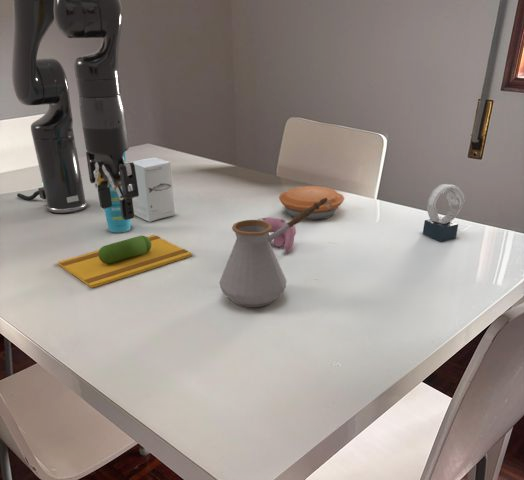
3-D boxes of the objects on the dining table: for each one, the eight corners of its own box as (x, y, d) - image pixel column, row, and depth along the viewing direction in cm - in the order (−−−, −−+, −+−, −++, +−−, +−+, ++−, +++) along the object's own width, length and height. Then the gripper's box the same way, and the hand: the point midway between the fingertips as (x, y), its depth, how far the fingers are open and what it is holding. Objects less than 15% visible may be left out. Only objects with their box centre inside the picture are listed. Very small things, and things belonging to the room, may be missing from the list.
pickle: (95, 260, 110) (94, 244, 107) (145, 246, 116) (145, 230, 114) (104, 269, 108) (103, 253, 106) (154, 254, 114) (154, 238, 112)
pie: (321, 227, 127) (322, 205, 124) (266, 214, 135) (266, 194, 132) (355, 209, 137) (356, 189, 135) (302, 198, 145) (302, 179, 143)
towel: (57, 264, 111) (57, 261, 110) (153, 237, 123) (153, 234, 123) (92, 288, 102) (91, 284, 101) (191, 256, 114) (191, 252, 113)
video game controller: (294, 255, 117) (299, 221, 117) (289, 253, 113) (294, 217, 112) (250, 249, 120) (254, 216, 119) (243, 247, 116) (247, 213, 115)
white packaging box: (149, 222, 131) (143, 167, 124) (133, 215, 136) (126, 161, 129) (176, 215, 135) (171, 161, 128) (159, 208, 140) (153, 156, 133)
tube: (108, 235, 124) (93, 145, 114) (100, 229, 127) (85, 141, 117) (139, 229, 127) (128, 140, 117) (131, 223, 131) (119, 136, 121)
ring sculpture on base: (462, 236, 121) (472, 185, 116) (434, 243, 118) (442, 191, 112) (444, 228, 126) (452, 179, 120) (416, 235, 122) (423, 184, 117)
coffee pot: (240, 319, 91) (237, 230, 83) (208, 292, 100) (203, 209, 92) (344, 288, 100) (351, 205, 93) (307, 266, 109) (310, 189, 101)
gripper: (144, 126, 96) (154, 218, 105) (104, 114, 105) (116, 199, 114) (104, 132, 92) (117, 227, 101) (66, 119, 101) (81, 207, 110)
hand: (117, 212), depth 107 cm, fingers open, 8 cm apart
